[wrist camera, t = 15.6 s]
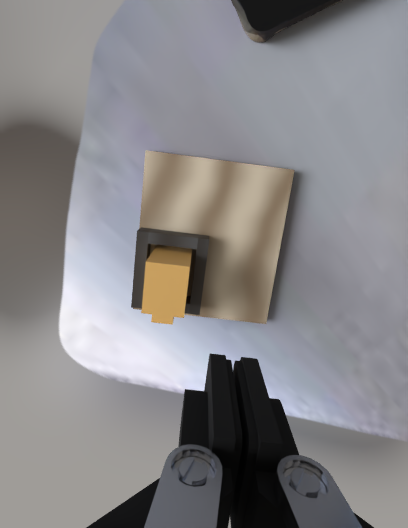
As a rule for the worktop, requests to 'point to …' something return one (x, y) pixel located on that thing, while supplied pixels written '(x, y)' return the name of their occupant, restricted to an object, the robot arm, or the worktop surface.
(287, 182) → the board
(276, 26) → the black sponge
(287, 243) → the worktop surface
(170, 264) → the plug
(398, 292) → the worktop surface
